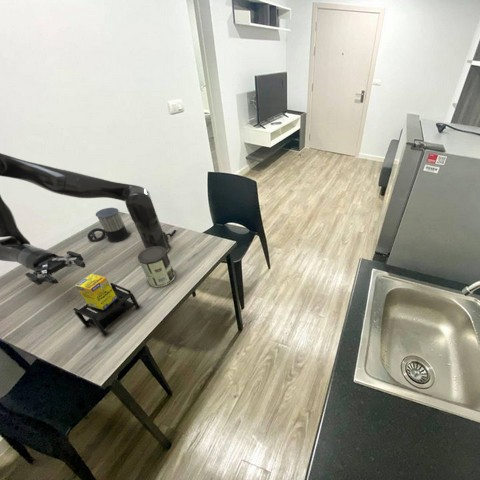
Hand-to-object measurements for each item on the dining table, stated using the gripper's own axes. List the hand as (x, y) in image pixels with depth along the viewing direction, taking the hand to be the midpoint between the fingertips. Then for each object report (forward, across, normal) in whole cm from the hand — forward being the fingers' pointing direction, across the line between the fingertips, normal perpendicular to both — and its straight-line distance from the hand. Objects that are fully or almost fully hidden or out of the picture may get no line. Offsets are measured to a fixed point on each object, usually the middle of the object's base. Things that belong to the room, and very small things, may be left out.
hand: (70, 273), depth 89 cm
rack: (+10, 0, +18) cm, 21 cm away
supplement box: (+10, 0, +10) cm, 15 cm away
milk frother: (-36, +33, +18) cm, 52 cm away
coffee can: (+10, +22, +18) cm, 30 cm away
